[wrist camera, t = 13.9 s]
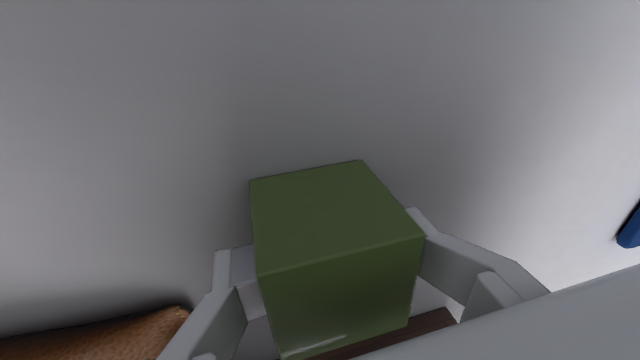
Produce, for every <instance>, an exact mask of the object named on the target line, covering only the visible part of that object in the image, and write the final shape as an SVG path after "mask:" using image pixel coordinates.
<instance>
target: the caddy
mask: <svg viewBox="0 0 640 360" xmlns="http://www.w3.org/2000/svg"><path fill="white" fill-rule="evenodd" d="M455 324H458V323H457V322H456V320H455V319H454V318H453V316H452V315H451V313H450V312H449V310H448V309H447V308H446V307H445V308H442V309H438V310H435V311H432V312H429V313H426V314H422V315H419V316H416V317H413V318H410V319H408V323H407V326H406V327H403V328H400V329H397V330H394V331H390V332H387V333H384V334H381V335H378V336H375V337H372V338H368V339H365V340H362V341H359V342H356V343H353V344H349V345H346V346H343V347H340V348H337V349H334V350H331V351H327V352H324V353H321V354H318V355H315V356H312V357H308V358H305V359H302V360H349V359H352V358H355V357H358V356H361V355H364V354H367V353H370V352H373V351H376V350H379V349H382V348H385V347H388V346H391V345H394V344H397V343H400V342H403V341H406V340H409V339H412V338H415V337H419V336H422V335H425V334H428V333H431V332H434V331H437V330H440V329H443V328H446V327H449V326H452V325H455ZM278 360H280V359H278Z"/></svg>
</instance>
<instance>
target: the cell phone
mask: <svg viewBox="0 0 640 360" xmlns="http://www.w3.org/2000/svg"><path fill="white" fill-rule="evenodd" d="M617 244H619V245H620V246H622V247H623V248H634V247H637V246H640V207H639V208H638V209H637V211H636V212H635V214H634V215H633V216H632V218H631V219H630V220H629V222H628V223H627V225H626V226H625V227H624V229H623V230H622V231H621V233H620V234H619V235H618V237H617Z"/></svg>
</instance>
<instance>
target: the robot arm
mask: <svg viewBox="0 0 640 360" xmlns="http://www.w3.org/2000/svg"><path fill="white" fill-rule="evenodd" d="M405 210H406V211H407V213H408V214H409V215H410V216H411V217H412V218H413V219H414V221H415V222H416V223H417V224H418V225H419V226H420V228H421V229H422V230H423V231H424V232H425V240H424V244H423V249H422V254H421V259H420V264H419V269H418V274H417V275H418V276H419V277H421V278H422V279H424V280H425V281H427V282H428V283H430V284H431V285H433V286H434V287H436V288H437V289H439V290H440V291H442V292H443V293H445V294H446V295H448V296H449V297H451V298H452V299H454V300H455V301H457V302H458V303H460V304H461V305H463V306H464V307H465V308H464V311H463V313H462V316H461V319H460V323H458V324H455V325H452V326H449V327H446V328H443V329H440V330H437V331H434V332H431V333H428V334H425V335H422V336H419V337H415V338H412V339H409V340H406V341H403V342H400V343H397V344H394V345H391V346H388V347H385V348H382V349H379V350H376V351H373V352H370V353H367V354H364V355H361V356H358V357H355V358H352V359H349V360H640V264H637V265H634V266H631V267H628V268H625V269H622V270H619V271H616V272H613V273H610V274H607V275H604V276H601V277H598V278H595V279H592V280H589V281H586V282H583V283H580V284H577V285H573V286H570V287H567V288H564V289H561V290H558V291H555V292H552V293H551V292H550V291H549V290H548V289H547V288H546V287H545V286H543V285H542V284H541V283H540V282H539V281H538V280H537V279H535V278H534V277H533V276H532V275H531V274H530V273H529V272H528V271H526V270H525V269H524V268H523V267H522V266H521V265H520V264H518V263H517V262H516V261H514V260H511V259H509V258H506V257H504V256H501V255H499V254H496V253H494V252H491V251H489V250H486V249H484V248H481V247H479V246H477V245H474V244H472V243H469V242H467V241H464V240H462V239H459V238H457V237H454V236H452V235H449V234H447V233H442V234H441V233H440V232H439V230H438V229H437V228H436V227H435V226H434V225H433V224H432V223H431V222H430V221H429V220H428V219H427V218H426V217H425V216H424V215H423V214H422V213H421V212H420V211H419V210H418V209H417V208H416V207H410V208H406V209H405ZM264 316H267V314H266V311H265V308H264V304H263V301H262V297H261V294H260V290H259V287H258V284H257V280H256V277H255V265H254V250H253V244H249V245H244V246H240V247H235V248H232V249H227V250H222V251H216V254H215V257H214V267H213V277H212V287H211V292H210V293H206V294H205V296H204V297H203V298H202V300H201V301H200V302H199V304H198V305H197V306H196V308H195V309H194V310H193V312H192V313H191V314H190V315H189V317H188V318H187V319H186V321H185V322H184V323H183V325H182V326H181V327H180V329H179V330H178V331H177V333H176V334H175V335H174V336H173V338H172V339H171V340H170V342H169V343H168V344H167V346H166V347H165V348H164V350H163V351H162V352H161V354H160V355H159V356H158V357H157V359H156V360H231V358H232V356H233V354H234V352H235V350H236V348H237V346H238V343H239V341H240V339H241V337H242V335H243V333H244V330H245V328H246V326H247V324H248V322H247V321H251V320H254V319H257V318H260V317H264Z"/></svg>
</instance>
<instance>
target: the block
mask: <svg viewBox="0 0 640 360" xmlns="http://www.w3.org/2000/svg"><path fill="white" fill-rule="evenodd" d="M249 190H250V205H251V220H252V235H253V250H254V265H255V277H256V280H257V284H258V287H259V290H260V294H261V297H262V301H263V304H264V308H265V311H266V314H267V318H268V321H269V325H270V328H271V331H272V335H273V338H274V342H275V345H276V349H277V352H278V355H279V359H280V360H302V359H305V358H308V357H312V356H315V355H318V354H321V353H324V352H327V351H331V350H334V349H337V348H340V347H343V346H346V345H349V344H353V343H356V342H359V341H362V340H365V339H368V338H372V337H375V336H378V335H381V334H384V333H387V332H390V331H394V330H397V329H400V328H403V327H406V326H407V323H408V318H409V313H410V308H411V303H412V299H413V294H414V289H415V284H416V279H417V274H418V269H419V264H420V259H421V254H422V249H423V244H424V240H425V232H424V231H423V230H422V229H421V228H420V226H419V225H418V224H417V223H416V222H415V221H414V219H413V218H412V217H411V216H410V215H409V214H408V213H407V211H406V210H405V209H404V208H403V207H402V206H401V205H400V203H399V202H398V201H397V200H396V199H395V198H394V197H393V195H392V194H391V193H390V192H389V191H388V190H387V188H386V187H385V186H384V185H383V184H382V183H381V182H380V180H379V179H378V178H377V177H376V176H375V175H374V174H373V172H372V171H371V170H370V169H369V168H368V167H367V166H366V164H365V163H364V162H363V161H362V160H357V161H351V162H346V163H340V164H335V165H330V166H324V167H319V168H313V169H308V170H302V171H297V172H292V173H286V174H281V175H275V176H270V177H264V178H259V179H253V180H250V181H249Z"/></svg>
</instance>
